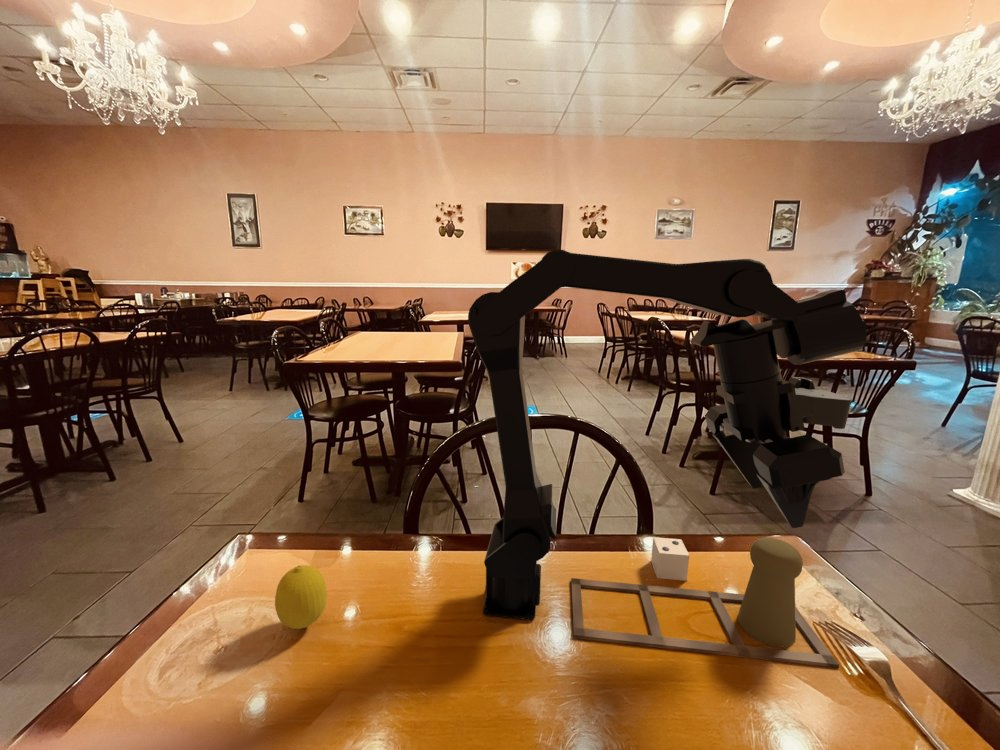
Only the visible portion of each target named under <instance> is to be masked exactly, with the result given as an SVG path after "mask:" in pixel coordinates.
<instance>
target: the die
mask: <svg viewBox="0 0 1000 750" xmlns="http://www.w3.org/2000/svg"><path fill="white" fill-rule="evenodd" d="M650 561H651V564H652V567H653V570H654V573H655V576H656V578H657V579H663V580H665V579H666V580H675V581H684V582H685V581H688V573H689V572H688V571H689V563H690V554H689V552H688V550H687V548H686V546H685V544H684V541H683V540H682V538H681V539H679V538H667V537H655V536H653V537H652V549H651V558H650Z"/></svg>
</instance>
